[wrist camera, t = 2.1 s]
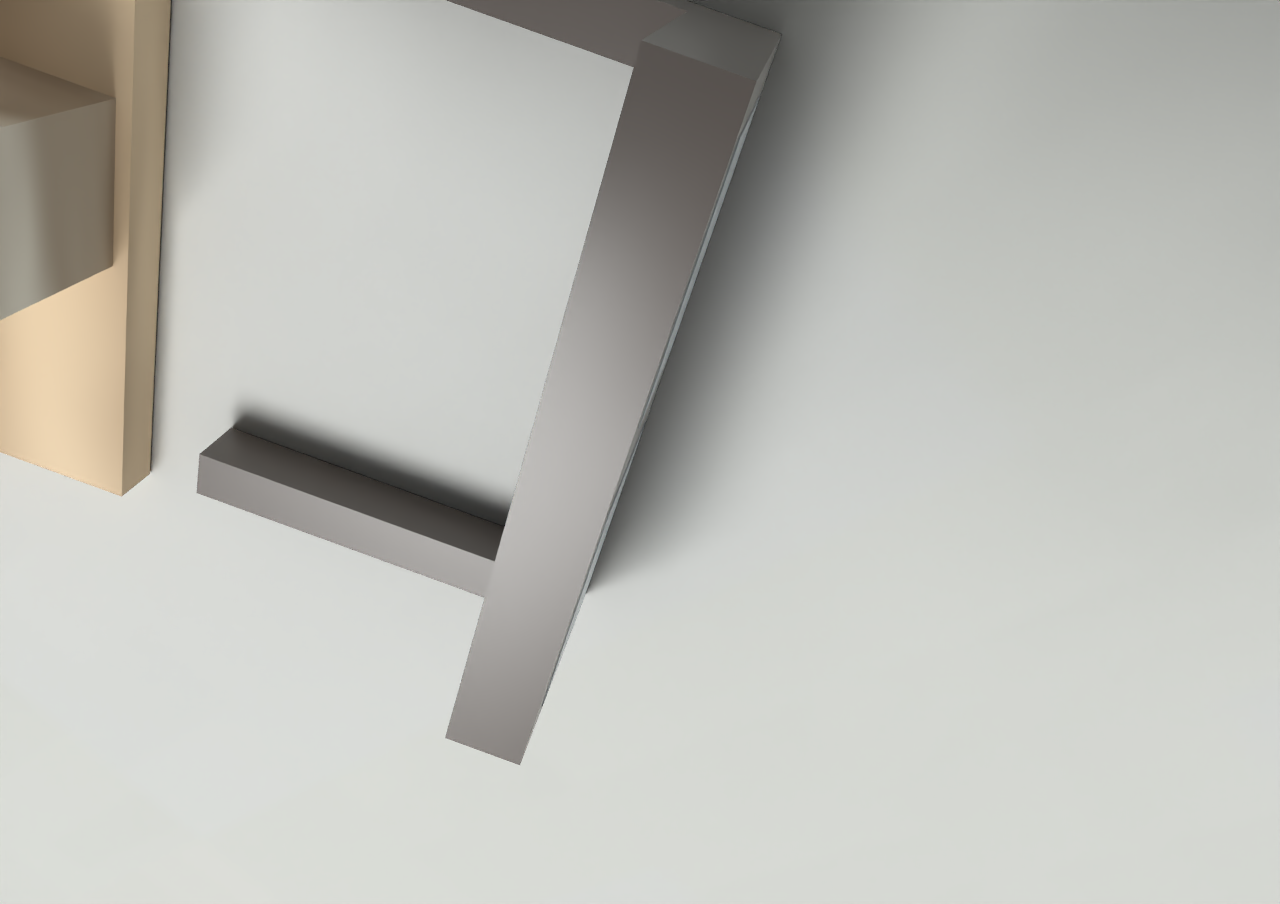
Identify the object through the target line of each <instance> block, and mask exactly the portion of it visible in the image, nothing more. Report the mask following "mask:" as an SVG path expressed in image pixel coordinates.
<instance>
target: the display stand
mask: <svg viewBox="0 0 1280 904" xmlns="http://www.w3.org/2000/svg"><path fill="white" fill-rule="evenodd" d="M170 8H171V0H0V452H1V453H4V454H7V455H10V456H12V457H15V458H18V459H21V460H23V461H26V462H29V463H32V464H34V465H37V466H40V467H43V468H45V469H48V470H51V471H53V472H56V473H59V474H62V475H64V476H67V477H70V478H73V479H75V480H78V481H81V482H84V483H86V484H89V485H92V486H95V487H97V488H100V489H103V490H105V491H108V492H111V493H114V494H116V495H119V496H123V495H124V494H125V493H126V492H128V491H129V490H130V489H131V488H133V487H134V486H135V485H136V484H138V483H139V482H140V481H141V480H143V479H144V478H145V477H146V476H148V475H149V474H150V457H151V435H152V412H153V390H154V367H155V345H156V322H157V300H158V278H159V255H160V233H161V210H162V188H163V165H164V143H165V120H166V98H167V75H168V53H169V30H170Z"/></svg>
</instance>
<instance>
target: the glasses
mask: <svg viewBox="0 0 1280 904" xmlns="http://www.w3.org/2000/svg"><path fill="white" fill-rule="evenodd" d="M447 1H450V2H453V3H455V4H458V5H461V6H464V7H467V8H469V9H472V10H475V11H478V12H481V13H483V14H486V15H489V16H492V17H495V18H497V19H500V20H503V21H506V22H509V23H512V24H514V25H517V26H520V27H523V28H526V29H528V30H531V31H534V32H537V33H540V34H542V35H545V36H548V37H551V38H554V39H556V40H559V41H562V42H565V43H568V44H570V45H573V46H576V47H579V48H582V49H584V50H587V51H590V52H593V53H596V54H598V55H601V56H604V57H607V58H610V59H612V60H615V61H618V62H621V63H624V64H626V65H629V66H632V67H634V69H633V72H632V76H631V79H630V83H629V86H628V90H627V94H626V97H625V101H624V104H623V108H622V111H621V115H620V118H619V122H618V126H617V129H616V133H615V136H614V140H613V143H612V147H611V150H610V154H609V158H608V161H607V165H606V168H605V172H604V175H603V179H602V182H601V186H600V190H599V193H598V197H597V200H596V204H595V207H594V211H593V214H592V218H591V222H590V225H589V229H588V232H587V236H586V239H585V243H584V246H583V250H582V253H581V257H580V261H579V264H578V268H577V271H576V275H575V278H574V282H573V285H572V289H571V293H570V296H569V300H568V303H567V307H566V310H565V314H564V317H563V321H562V325H561V328H560V332H559V335H558V339H557V342H556V346H555V349H554V353H553V357H552V360H551V364H550V367H549V371H548V374H547V378H546V381H545V385H544V389H543V392H542V396H541V399H540V403H539V406H538V410H537V413H536V417H535V421H534V424H533V428H532V431H531V435H530V438H529V442H528V445H527V449H526V452H525V456H524V460H523V463H522V467H521V470H520V474H519V477H518V481H517V484H516V488H515V492H514V495H513V499H512V502H511V506H510V509H509V513H508V516H507V520H506V524H505V527H503V526H500V525H497V524H495V523H492V522H489V521H486V520H484V519H481V518H478V517H475V516H473V515H470V514H467V513H464V512H462V511H459V510H456V509H453V508H451V507H448V506H445V505H442V504H440V503H437V502H434V501H431V500H429V499H426V498H423V497H420V496H418V495H415V494H412V493H409V492H407V491H404V490H401V489H398V488H396V487H393V486H390V485H387V484H385V483H382V482H379V481H376V480H374V479H371V478H368V477H365V476H363V475H360V474H357V473H354V472H352V471H349V470H346V469H343V468H341V467H338V466H335V465H332V464H329V463H327V462H324V461H321V460H318V459H316V458H313V457H310V456H307V455H305V454H302V453H299V452H296V451H294V450H291V449H288V448H285V447H283V446H280V445H277V444H274V443H272V442H269V441H266V440H263V439H261V438H258V437H255V436H252V435H250V434H247V433H244V432H241V431H239V430H236V429H233V428H230V429H229V430H228V431H227V432H226V433H224V434H223V435H222V436H221V437H220V438H218V439H217V440H216V441H215V442H214V443H212V444H211V445H210V446H209V447H208V448H206V449H205V450H204V451H203V452H202V453H200V456H199V469H198V482H197V493H199V494H201V495H204V496H207V497H210V498H212V499H215V500H218V501H221V502H223V503H226V504H229V505H232V506H234V507H237V508H240V509H243V510H245V511H248V512H251V513H254V514H256V515H259V516H262V517H265V518H267V519H270V520H273V521H276V522H278V523H281V524H284V525H286V526H289V527H292V528H295V529H297V530H300V531H303V532H306V533H308V534H311V535H314V536H317V537H319V538H322V539H325V540H328V541H330V542H333V543H336V544H339V545H341V546H344V547H347V548H350V549H352V550H355V551H358V552H361V553H363V554H366V555H369V556H372V557H374V558H377V559H380V560H383V561H385V562H388V563H391V564H394V565H396V566H399V567H402V568H405V569H407V570H410V571H413V572H416V573H418V574H421V575H424V576H427V577H429V578H432V579H435V580H437V581H440V582H443V583H446V584H448V585H451V586H454V587H457V588H459V589H462V590H465V591H468V592H470V593H473V594H476V595H479V596H481V597H484V602H483V605H482V609H481V612H480V616H479V619H478V623H477V627H476V630H475V634H474V637H473V641H472V644H471V648H470V651H469V655H468V659H467V662H466V666H465V669H464V673H463V676H462V680H461V683H460V687H459V691H458V694H457V698H456V701H455V705H454V708H453V712H452V715H451V719H450V723H449V726H448V730H447V733H446V737H445V738H447V739H450V740H453V741H455V742H458V743H461V744H464V745H466V746H469V747H472V748H474V749H477V750H480V751H483V752H485V753H488V754H491V755H494V756H496V757H499V758H502V759H505V760H507V761H510V762H513V763H515V764H518V765H520V763H521V761H522V758H523V755H524V753H525V750H526V748H527V745H528V742H529V740H530V737H531V735H532V732H533V729H534V727H535V724H536V722H537V719H538V716H539V714H540V711H541V709H542V706H543V704H544V701H545V698H546V696H547V693H548V691H549V688H550V685H551V683H552V680H553V678H554V675H555V672H556V670H557V667H558V665H559V662H560V659H561V657H562V654H563V652H564V649H565V646H566V644H567V641H568V639H569V636H570V633H571V631H572V628H573V626H574V623H575V620H576V618H577V615H578V613H579V610H580V607H581V605H582V602H583V600H584V597H585V594H586V591H587V588H588V585H589V583H590V580H591V577H592V574H593V571H594V568H595V566H596V563H597V560H598V557H599V554H600V551H601V548H602V546H603V543H604V540H605V537H606V534H607V531H608V528H609V526H610V523H611V520H612V517H613V514H614V511H615V509H616V506H617V503H618V500H619V497H620V494H621V491H622V489H623V486H624V483H625V480H626V477H627V474H628V471H629V469H630V466H631V463H632V460H633V457H634V454H635V452H636V449H637V446H638V443H639V440H640V437H641V434H642V432H643V429H644V426H645V423H646V420H647V417H648V414H649V412H650V409H651V406H652V403H653V400H654V397H655V395H656V392H657V389H658V386H659V383H660V380H661V377H662V375H663V372H664V369H665V366H666V363H667V360H668V357H669V355H670V352H671V349H672V346H673V343H674V340H675V338H676V335H677V332H678V329H679V326H680V323H681V320H682V318H683V315H684V312H685V309H686V306H687V303H688V300H689V298H690V295H691V292H692V289H693V286H694V283H695V281H696V278H697V275H698V272H699V269H700V266H701V263H702V261H703V258H704V255H705V252H706V249H707V246H708V243H709V241H710V238H711V235H712V232H713V229H714V226H715V224H716V221H717V218H718V215H719V212H720V209H721V206H722V204H723V201H724V198H725V195H726V192H727V189H728V186H729V184H730V181H731V178H732V175H733V172H734V169H735V167H736V164H737V161H738V158H739V155H740V152H741V149H742V147H743V144H744V141H745V138H746V135H747V132H748V129H749V127H750V124H751V121H752V118H753V115H754V112H755V110H756V107H757V104H758V101H759V98H760V95H761V92H762V90H763V87H764V84H765V81H766V78H767V75H768V72H769V70H770V67H771V64H772V61H773V58H774V55H775V53H776V50H777V47H778V44H779V41H780V38H781V35H782V34H780V33H777V32H774V31H772V30H769V29H766V28H763V27H760V26H757V25H755V24H752V23H749V22H746V21H743V20H741V19H738V18H735V17H732V16H729V15H727V14H724V13H721V12H718V11H715V10H712V9H710V8H707V7H704V6H701V5H698V4H696V3H693V2H690V1H687V0H447Z"/></svg>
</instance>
